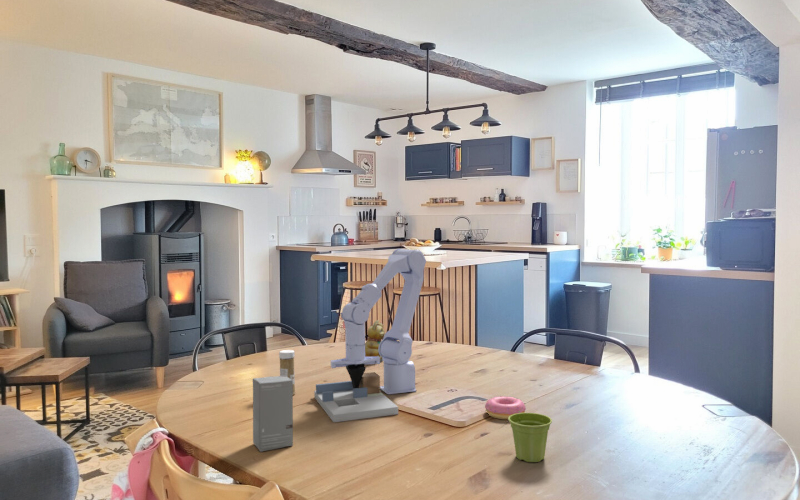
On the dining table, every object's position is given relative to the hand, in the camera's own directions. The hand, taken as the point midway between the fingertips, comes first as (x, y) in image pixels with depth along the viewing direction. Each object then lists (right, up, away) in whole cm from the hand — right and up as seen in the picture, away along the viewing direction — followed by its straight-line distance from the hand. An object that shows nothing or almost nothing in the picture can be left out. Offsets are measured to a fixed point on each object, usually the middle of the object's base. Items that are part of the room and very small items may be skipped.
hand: (355, 389), depth 178 cm
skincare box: (-17, -5, -35) cm, 39 cm away
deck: (0, -3, -5) cm, 6 cm away
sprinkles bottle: (-21, -3, +6) cm, 22 cm away
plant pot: (+42, -5, -44) cm, 61 cm away
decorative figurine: (+3, -1, +50) cm, 50 cm away
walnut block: (+4, -1, +1) cm, 4 cm away
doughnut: (+41, -4, -14) cm, 44 cm away
